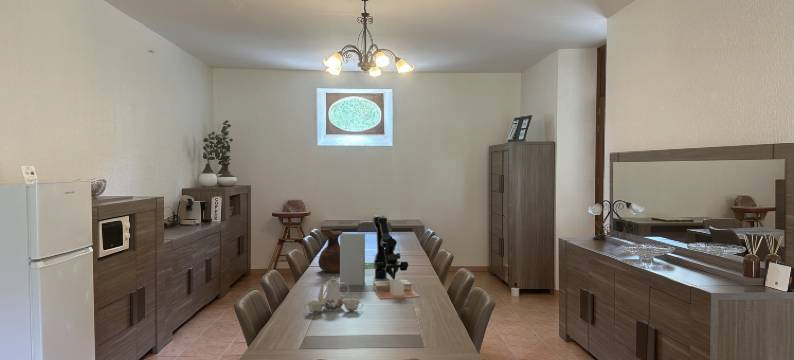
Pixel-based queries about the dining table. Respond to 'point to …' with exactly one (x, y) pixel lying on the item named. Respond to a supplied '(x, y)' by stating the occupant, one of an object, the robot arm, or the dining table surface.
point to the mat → (389, 296)
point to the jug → (331, 252)
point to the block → (397, 287)
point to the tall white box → (352, 259)
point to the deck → (388, 286)
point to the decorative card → (370, 265)
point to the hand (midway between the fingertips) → (394, 279)
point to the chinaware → (332, 299)
